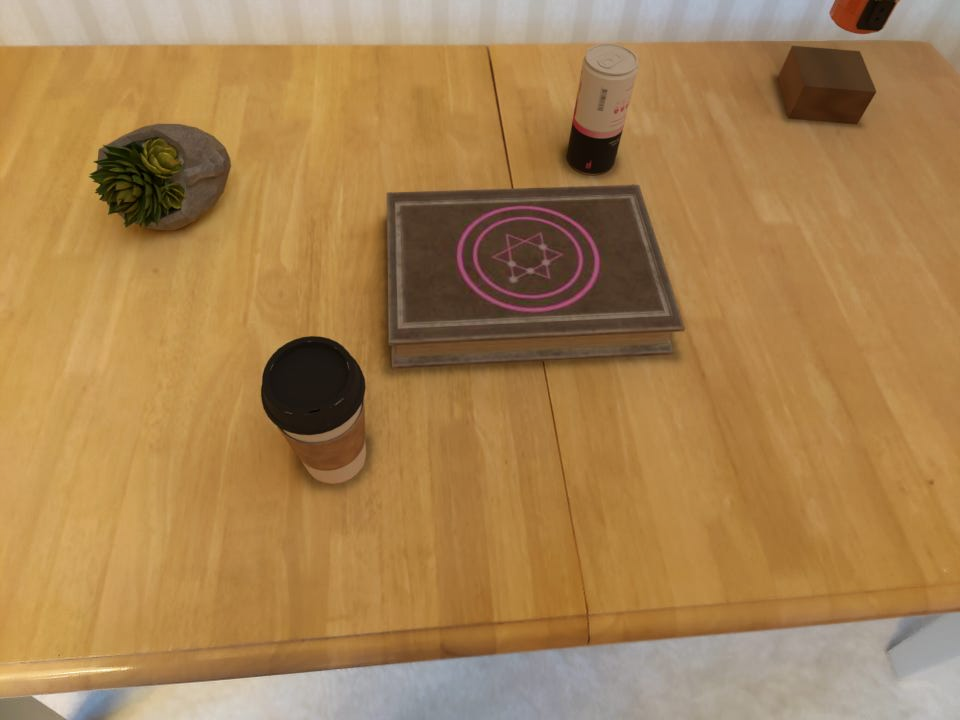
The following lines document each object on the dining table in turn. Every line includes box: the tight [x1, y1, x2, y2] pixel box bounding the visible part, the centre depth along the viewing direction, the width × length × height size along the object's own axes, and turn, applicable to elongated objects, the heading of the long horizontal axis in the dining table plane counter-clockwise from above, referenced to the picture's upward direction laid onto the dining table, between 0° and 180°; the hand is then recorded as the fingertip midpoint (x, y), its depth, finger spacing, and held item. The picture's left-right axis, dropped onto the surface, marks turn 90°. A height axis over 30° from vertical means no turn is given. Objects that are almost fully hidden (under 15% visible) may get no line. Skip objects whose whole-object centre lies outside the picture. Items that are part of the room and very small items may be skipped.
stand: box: [777, 45, 877, 125], centre depth 98 cm, size 10×10×6 cm
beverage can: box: [566, 42, 639, 176], centre depth 84 cm, size 6×7×15 cm
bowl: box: [828, 0, 899, 35], centre depth 88 cm, size 7×7×4 cm
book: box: [386, 184, 686, 370], centre depth 76 cm, size 30×22×5 cm
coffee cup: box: [260, 335, 367, 485], centre depth 59 cm, size 8×8×15 cm
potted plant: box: [88, 123, 232, 231], centre depth 77 cm, size 12×13×15 cm
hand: (860, 11), depth 89 cm, fingers closed on bowl, 7 cm apart
